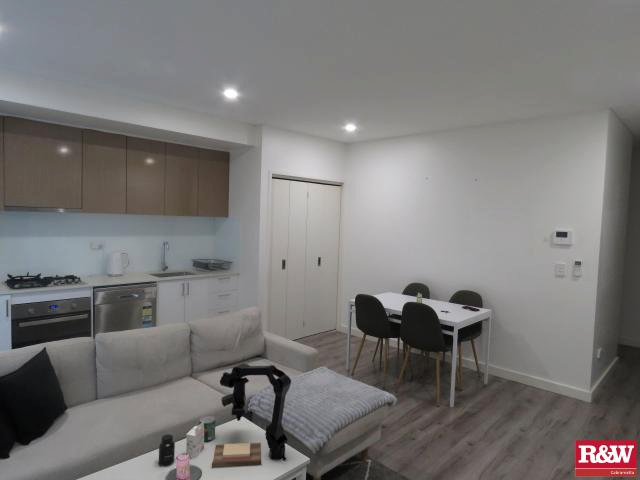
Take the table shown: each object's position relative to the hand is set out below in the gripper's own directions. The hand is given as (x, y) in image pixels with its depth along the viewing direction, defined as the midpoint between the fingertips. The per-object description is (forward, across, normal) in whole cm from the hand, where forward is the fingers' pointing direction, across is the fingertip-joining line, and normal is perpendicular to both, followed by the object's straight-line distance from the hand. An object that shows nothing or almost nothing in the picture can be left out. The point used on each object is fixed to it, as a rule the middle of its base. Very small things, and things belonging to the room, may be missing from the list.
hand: (238, 420), depth 204 cm
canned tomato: (+12, -5, -16) cm, 20 cm away
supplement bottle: (+12, +13, -32) cm, 36 cm away
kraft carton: (+11, +15, 0) cm, 19 cm away
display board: (+12, +11, 0) cm, 16 cm away
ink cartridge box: (+12, +7, -20) cm, 24 cm away
